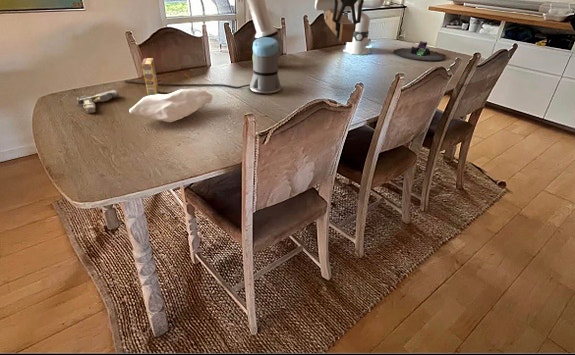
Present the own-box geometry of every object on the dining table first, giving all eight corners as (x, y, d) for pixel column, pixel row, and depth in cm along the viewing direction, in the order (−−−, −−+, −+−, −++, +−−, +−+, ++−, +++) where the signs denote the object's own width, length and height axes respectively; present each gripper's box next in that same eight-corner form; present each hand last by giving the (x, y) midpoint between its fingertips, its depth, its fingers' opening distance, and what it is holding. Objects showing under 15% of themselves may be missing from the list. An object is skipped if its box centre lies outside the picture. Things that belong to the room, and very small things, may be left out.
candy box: (157, 97, 164) (152, 63, 155) (147, 98, 163) (141, 63, 155) (158, 91, 171) (153, 57, 163) (149, 91, 170) (143, 58, 162)
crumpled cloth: (117, 110, 146) (113, 90, 140) (195, 92, 166) (194, 73, 160) (143, 139, 134) (140, 118, 128) (223, 116, 154) (224, 96, 148)
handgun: (128, 97, 156) (111, 87, 164) (86, 107, 144) (70, 97, 152) (129, 103, 157) (113, 94, 165) (88, 114, 146) (72, 103, 154)
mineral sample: (456, 57, 245) (459, 42, 241) (423, 63, 228) (426, 48, 224) (414, 49, 270) (416, 36, 266) (381, 54, 253) (383, 40, 248)
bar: (352, 42, 169) (354, 24, 164) (340, 42, 168) (342, 24, 164) (334, 22, 211) (336, 7, 207) (325, 21, 211) (326, 7, 207)
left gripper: (369, -17, 165) (361, 37, 177) (328, -19, 163) (323, 35, 176) (373, -15, 158) (364, 40, 171) (331, -17, 157) (325, 39, 170)
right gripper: (352, -9, 200) (348, 18, 208) (315, -10, 199) (313, 17, 206) (354, -7, 195) (351, 20, 202) (316, -9, 193) (314, 19, 201)
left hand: (344, 38), depth 174 cm, fingers closed on bar, 6 cm apart
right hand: (331, 19), depth 204 cm, fingers closed on bar, 5 cm apart
